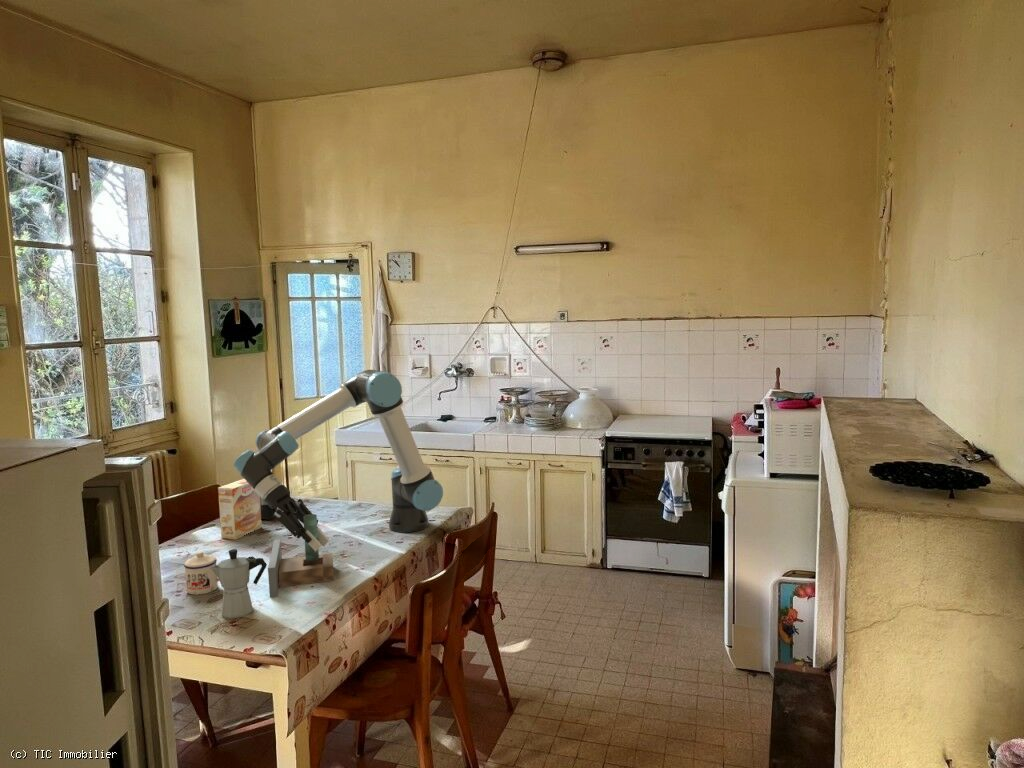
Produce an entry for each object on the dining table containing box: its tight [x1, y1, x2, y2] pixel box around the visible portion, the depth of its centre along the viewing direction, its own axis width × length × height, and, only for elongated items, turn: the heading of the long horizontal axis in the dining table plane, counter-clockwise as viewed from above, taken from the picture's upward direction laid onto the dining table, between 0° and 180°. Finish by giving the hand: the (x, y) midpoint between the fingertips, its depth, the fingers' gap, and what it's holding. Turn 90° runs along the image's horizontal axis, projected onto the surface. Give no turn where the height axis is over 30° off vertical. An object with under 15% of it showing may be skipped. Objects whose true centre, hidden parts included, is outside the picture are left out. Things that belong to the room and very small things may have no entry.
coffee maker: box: [209, 548, 268, 620], centre depth 192 cm, size 15×9×18 cm, turn 114°
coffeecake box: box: [217, 478, 263, 541], centre depth 261 cm, size 15×7×20 cm, turn 161°
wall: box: [267, 538, 283, 599], centre depth 214 cm, size 2×26×9 cm, turn 15°
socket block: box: [279, 553, 335, 588], centre depth 217 cm, size 16×12×4 cm
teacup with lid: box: [183, 551, 220, 596], centre depth 209 cm, size 12×9×12 cm
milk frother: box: [260, 497, 276, 520], centre depth 284 cm, size 14×16×15 cm
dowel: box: [303, 513, 320, 561], centre depth 216 cm, size 4×4×14 cm
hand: (322, 545), depth 215 cm, fingers closed on dowel, 4 cm apart
